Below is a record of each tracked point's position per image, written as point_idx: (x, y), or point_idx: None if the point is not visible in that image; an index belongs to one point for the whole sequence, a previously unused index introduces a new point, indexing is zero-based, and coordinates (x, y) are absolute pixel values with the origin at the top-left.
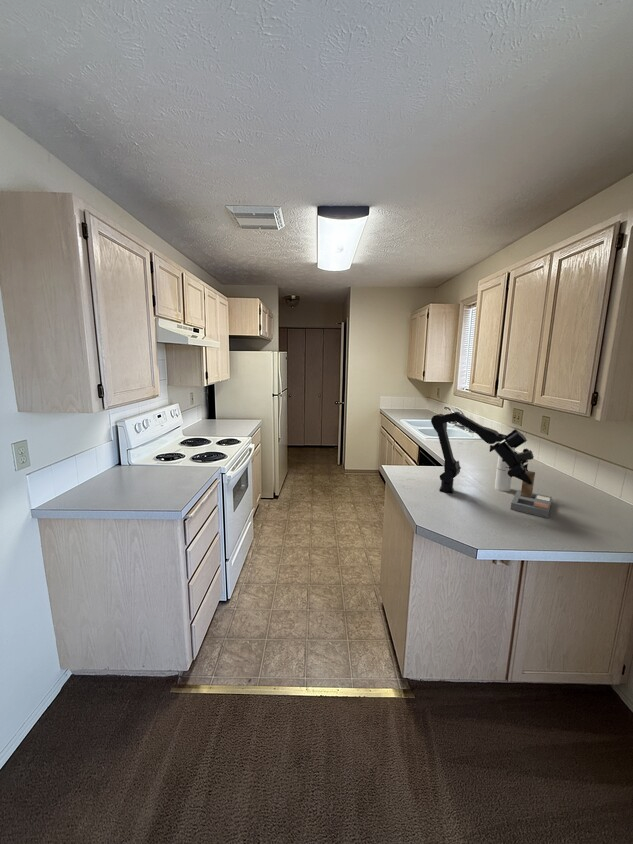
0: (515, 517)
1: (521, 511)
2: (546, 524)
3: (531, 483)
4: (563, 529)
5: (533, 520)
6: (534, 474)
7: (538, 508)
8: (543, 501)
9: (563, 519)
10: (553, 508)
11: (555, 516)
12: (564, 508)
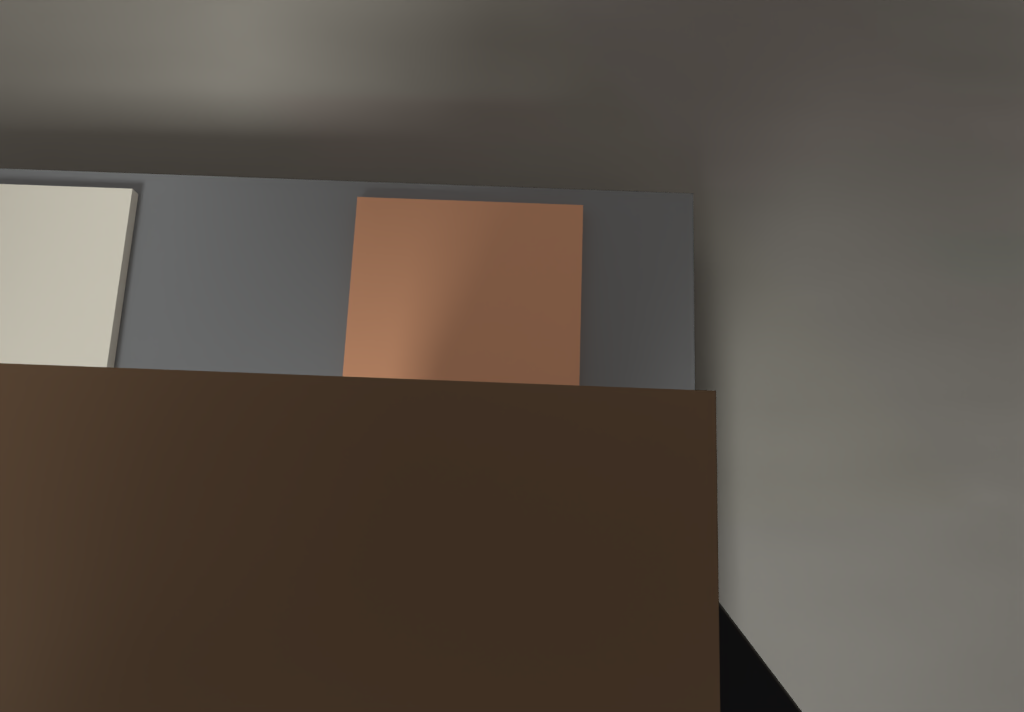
0: (1017, 698)
1: None
2: (951, 249)
3: None
4: (966, 54)
5: (930, 423)
6: (430, 393)
7: (668, 353)
8: (187, 287)
9: (570, 51)
10: (162, 173)
11: (518, 145)
12: (64, 35)
